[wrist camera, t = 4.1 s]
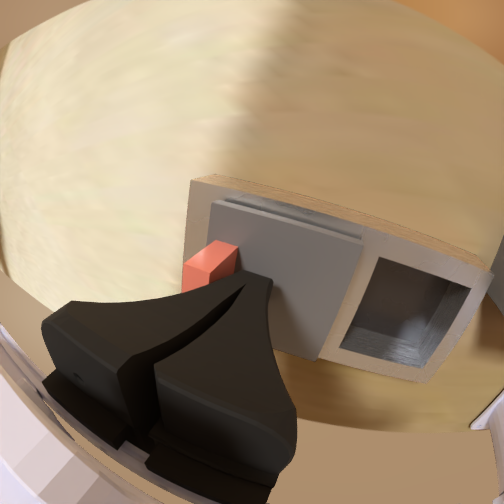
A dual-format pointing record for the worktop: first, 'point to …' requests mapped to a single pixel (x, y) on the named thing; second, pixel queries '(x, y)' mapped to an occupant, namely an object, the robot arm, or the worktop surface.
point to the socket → (370, 280)
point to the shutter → (280, 270)
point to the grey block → (498, 279)
